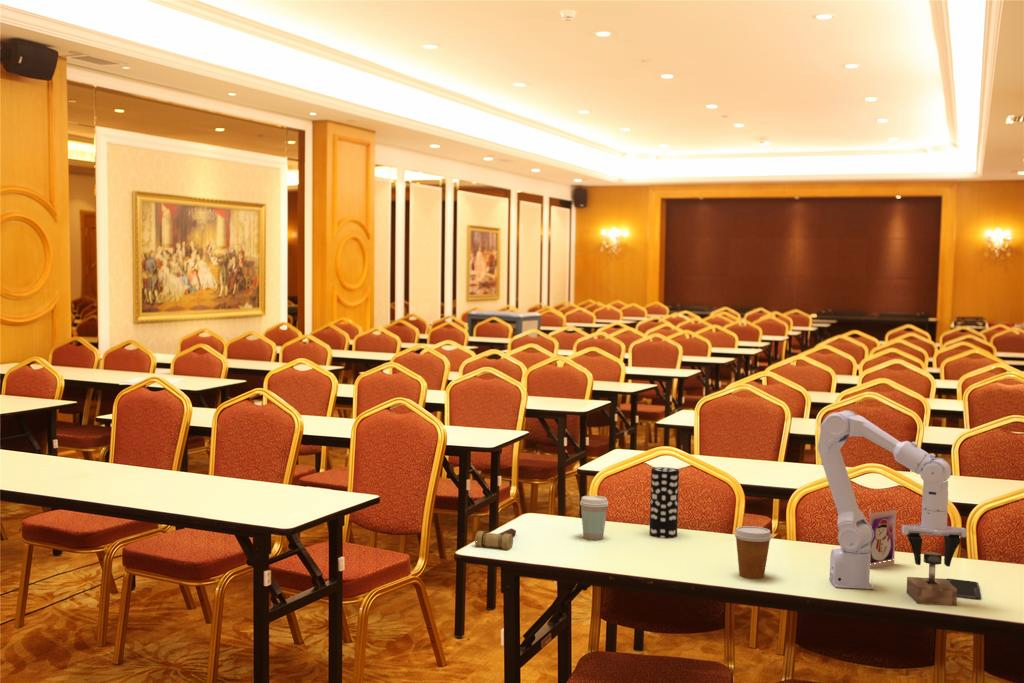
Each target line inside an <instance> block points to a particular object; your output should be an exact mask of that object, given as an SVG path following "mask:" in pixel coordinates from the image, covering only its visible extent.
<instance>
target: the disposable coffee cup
mask: <svg viewBox="0 0 1024 683" xmlns="http://www.w3.org/2000/svg"><path fill="white" fill-rule="evenodd" d="M733 533H734V534H733V535H734V536H735V540H736V541H735V542H736V551H737V562H738V574H739V576H740V577H743V578H747V579H762V578H764V576H765V572H766V567H767V565H766V564H767V562H768V561H767V560H768V555H769V550H770V548H769V547H770V542H771V540H772V537H773V536H772V534H771V530H770V529H768V528H766V527H762V526H753V525H752V526H751V525H745V526H744V525H743V526H738V527H736V528H735V532H733Z"/></svg>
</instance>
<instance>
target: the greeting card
mask: <svg viewBox="0 0 1024 683" xmlns="http://www.w3.org/2000/svg"><path fill="white" fill-rule="evenodd" d="M896 523H897V509H891V510H886V511H878V512H873V513H872V509H869V522H868V524H869V525H870V526H871V527H872V529H873V532H874V537H873V540H872V541H871V543H869V547H870V549H871V550H870V564H871V565H870V569H873V568H874V569H875V568H879V567H884V566H889V565H890V566H891V565H894V564H895V552H896V551H895V550H896V549H895V548H896V528H897V526H896V525H897V524H896ZM893 559H894V560H893ZM888 560H891V561H888ZM883 561H886V562H883ZM879 562H881V563H879ZM874 563H876V564H874Z"/></svg>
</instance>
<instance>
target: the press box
mask: <svg viewBox="0 0 1024 683" xmlns="http://www.w3.org/2000/svg"><path fill="white" fill-rule="evenodd" d="M946 579H947V578H939V577H937V578H936V577H935V584H929V577H917V576H907V577H906V594H907V595H908V596H909V597H910V598H911V599H912V600H913V601H914V602H915V603H916V604H919V605H921V604H922V605H939V606H957V603H958V602H957V601H958V600H957V599H958V597H957V588H955V587H954V586H953V585H952V584H951V583H949V582H948V581H947V580H946Z"/></svg>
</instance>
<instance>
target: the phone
mask: <svg viewBox="0 0 1024 683" xmlns="http://www.w3.org/2000/svg"><path fill="white" fill-rule="evenodd" d="M945 579H946V580H947V581H948V582H949V583H951V584H952V585H953V586H954V587H955V588H957V599H958V598H960V599H968V600H976V601H979V600H981V597H982V596H981V591H980V584H979V582H977V581H972V580H965V579H964V580H963V579H956V578H945Z"/></svg>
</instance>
